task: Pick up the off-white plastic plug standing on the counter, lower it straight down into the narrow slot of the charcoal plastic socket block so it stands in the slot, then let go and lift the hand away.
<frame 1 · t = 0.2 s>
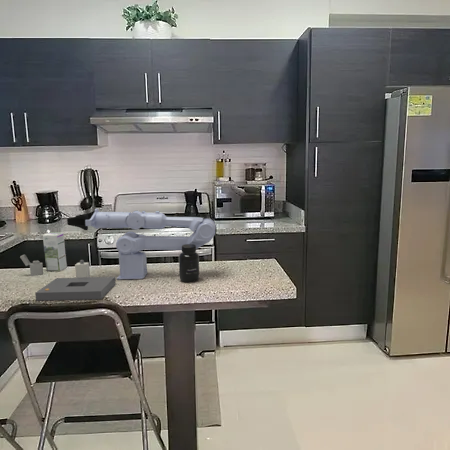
hand: (71, 220, 139), 21 cm above the breakfast bar, tool horizontal, fingers open, 7 cm apart
lighter: (33, 275, 148), on the breakfast bar
socket block: (78, 291, 127), on the breakfast bar
syrup box: (56, 269, 155), on the breakfast bar
plug: (83, 279, 140), on the breakfast bar
supplement bottle: (189, 279, 136), on the breakfast bar
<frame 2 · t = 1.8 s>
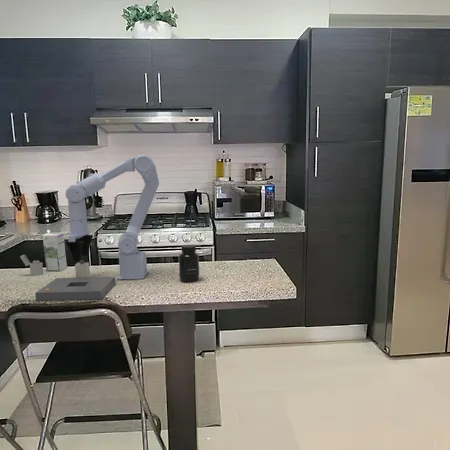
hand: (81, 258, 138), 8 cm above the breakfast bar, tool pointing down, fingers open, 7 cm apart
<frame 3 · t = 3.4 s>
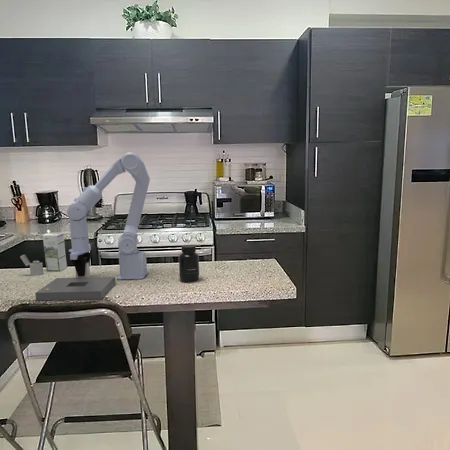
hand: (83, 274, 139), 2 cm above the breakfast bar, tool pointing down, fingers closed on plug, 3 cm apart
plug: (83, 279, 140), on the breakfast bar, touching gripper
everything else where it was.
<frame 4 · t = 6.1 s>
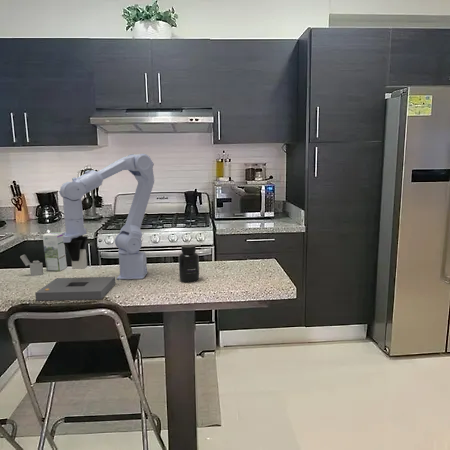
hand: (77, 259, 130), 9 cm above the breakfast bar, tool pointing down, fingers closed on plug, 3 cm apart
plug: (79, 267, 130), point 7 cm above the breakfast bar, touching gripper
everything else where it was.
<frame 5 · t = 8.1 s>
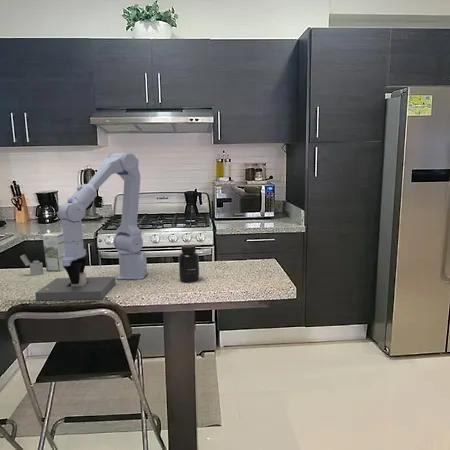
hand: (77, 282, 126), 3 cm above the breakfast bar, tool pointing down, fingers closed on plug, 3 cm apart
plug: (79, 291, 127), resting in socket block, touching gripper
everything else where it was.
when the fingers open (3 cm above the breakfast bar, at t = 9.0 s): plug stays where it is, resting in socket block.
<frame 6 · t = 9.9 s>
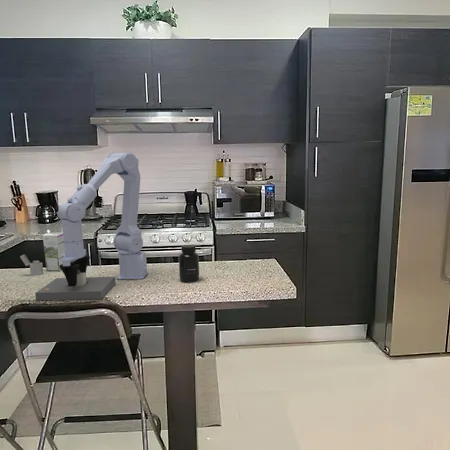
hand: (77, 282, 126), 3 cm above the breakfast bar, tool pointing down, fingers open, 7 cm apart
plug: (79, 291, 127), resting in socket block
everything else where it was.
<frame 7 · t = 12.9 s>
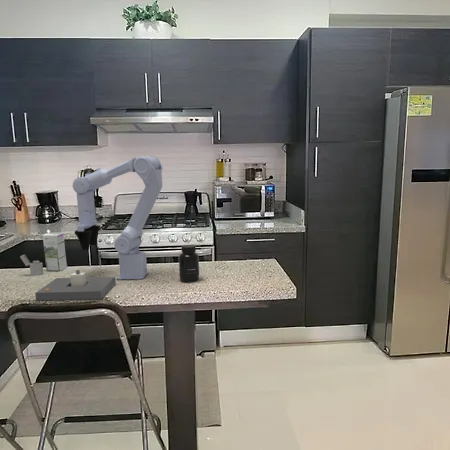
hand: (89, 247, 144), 10 cm above the breakfast bar, tool pointing down, fingers open, 7 cm apart
nothing on the breakfast bar moved.
at the end: plug 0.5 cm off-centre on the socket block, point 0.0 cm above the socket block's base; plug tilted 0°; the gripper is holding nothing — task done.
